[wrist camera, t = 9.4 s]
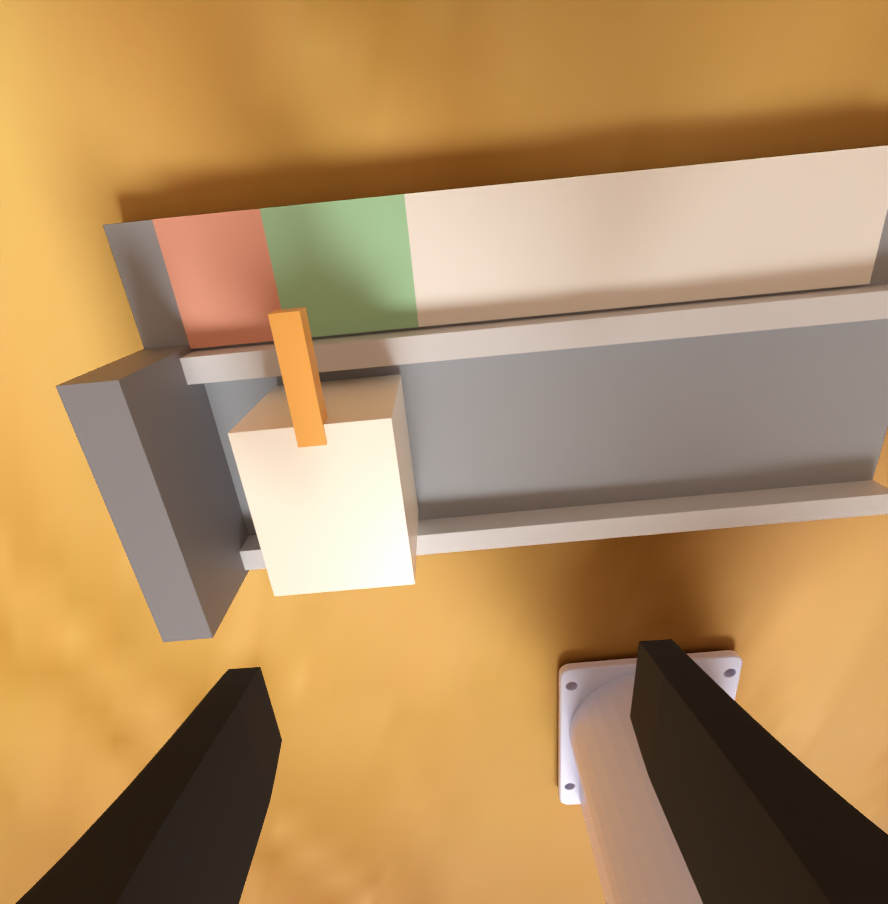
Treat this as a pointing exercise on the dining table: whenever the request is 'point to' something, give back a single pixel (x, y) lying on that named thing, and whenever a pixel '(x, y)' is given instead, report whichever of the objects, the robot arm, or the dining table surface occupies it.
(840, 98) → the dining table surface
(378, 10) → the dining table surface
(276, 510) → the gauge slider
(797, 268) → the gauge board
